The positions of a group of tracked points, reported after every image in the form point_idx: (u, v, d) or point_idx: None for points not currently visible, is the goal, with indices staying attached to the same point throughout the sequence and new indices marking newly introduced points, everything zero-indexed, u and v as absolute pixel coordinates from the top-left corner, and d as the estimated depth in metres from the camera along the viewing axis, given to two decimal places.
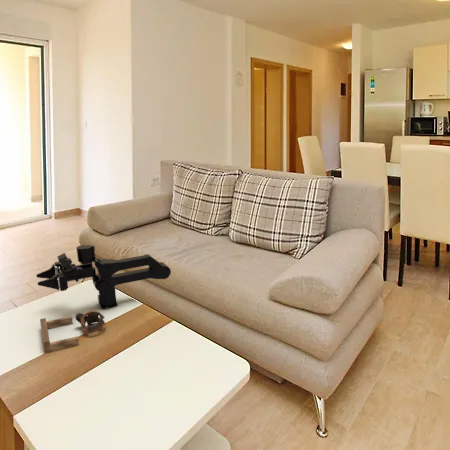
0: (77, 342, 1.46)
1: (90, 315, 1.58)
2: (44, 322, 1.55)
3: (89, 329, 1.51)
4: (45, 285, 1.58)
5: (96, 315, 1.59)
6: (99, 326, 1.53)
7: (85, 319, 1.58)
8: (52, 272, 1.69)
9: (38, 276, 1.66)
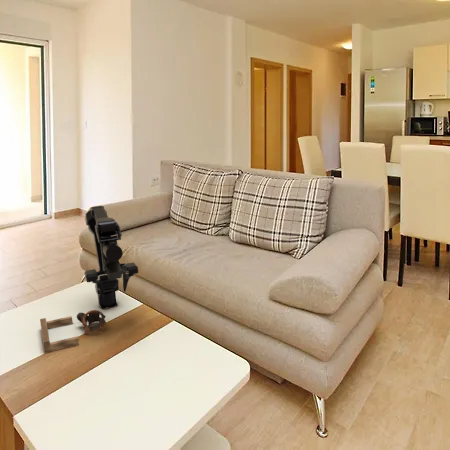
0: (77, 342, 1.46)
1: (91, 314, 1.59)
2: (44, 322, 1.55)
3: (90, 328, 1.52)
4: None
5: (97, 314, 1.59)
6: (100, 325, 1.53)
7: (86, 318, 1.58)
8: None
9: None
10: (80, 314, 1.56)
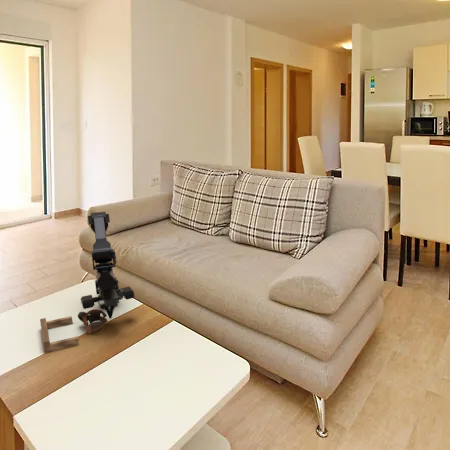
0: (77, 342, 1.46)
1: (92, 314, 1.59)
2: (44, 322, 1.55)
3: (92, 327, 1.52)
4: None
5: (98, 313, 1.60)
6: (102, 324, 1.54)
7: (87, 318, 1.59)
8: None
9: None
10: (81, 313, 1.57)
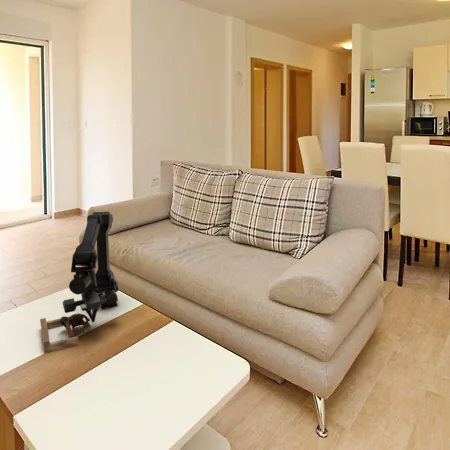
0: (77, 342, 1.46)
1: (75, 318, 1.56)
2: (44, 322, 1.55)
3: (75, 332, 1.49)
4: None
5: (81, 318, 1.57)
6: (85, 329, 1.51)
7: (70, 322, 1.55)
8: None
9: None
10: (63, 318, 1.53)
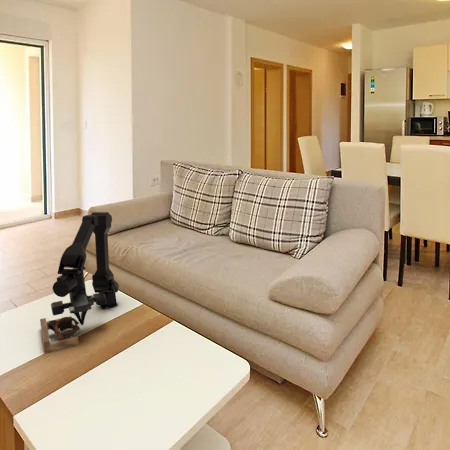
0: (77, 342, 1.46)
1: (63, 322, 1.54)
2: (44, 322, 1.55)
3: (64, 336, 1.47)
4: None
5: (69, 321, 1.55)
6: (74, 332, 1.49)
7: (58, 326, 1.53)
8: None
9: None
10: (51, 322, 1.51)
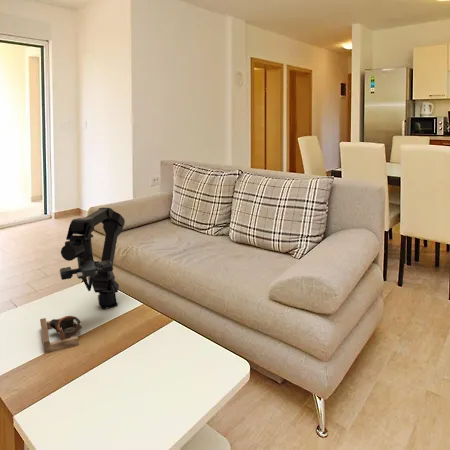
0: (77, 342, 1.46)
1: (65, 321, 1.55)
2: (44, 322, 1.55)
3: (66, 335, 1.48)
4: None
5: (71, 320, 1.56)
6: (77, 331, 1.50)
7: (60, 325, 1.54)
8: None
9: None
10: (54, 321, 1.52)
